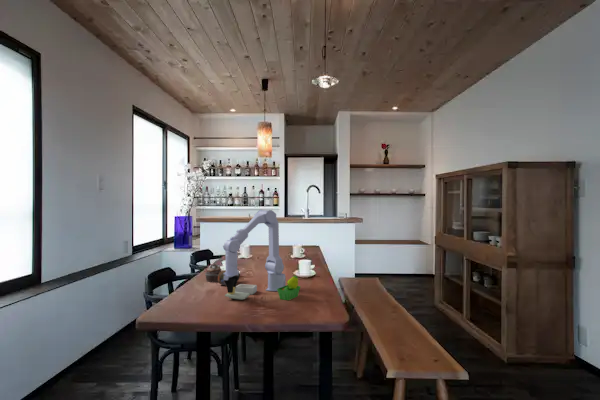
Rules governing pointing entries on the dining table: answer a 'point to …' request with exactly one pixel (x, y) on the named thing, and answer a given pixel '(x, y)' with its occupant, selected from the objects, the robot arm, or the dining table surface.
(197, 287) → the dining table surface
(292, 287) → the fruit basket
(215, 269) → the cupcake
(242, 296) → the lid
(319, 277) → the dining table surface
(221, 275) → the tin
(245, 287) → the tub
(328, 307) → the dining table surface
